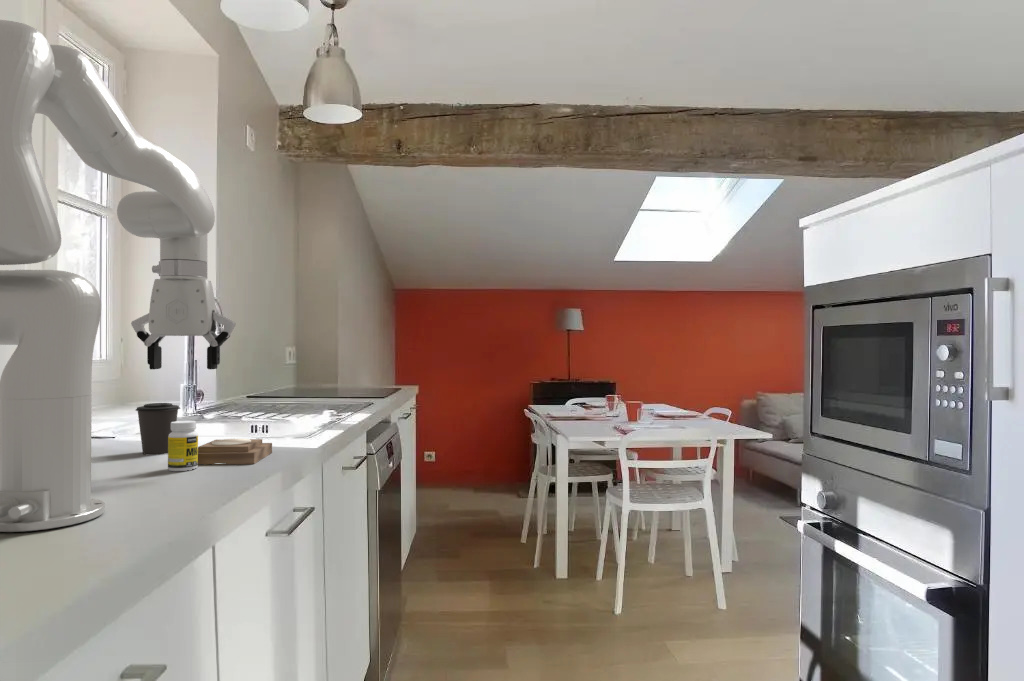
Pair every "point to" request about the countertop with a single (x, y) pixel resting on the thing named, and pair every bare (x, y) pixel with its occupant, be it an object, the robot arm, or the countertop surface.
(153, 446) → the coffee cup
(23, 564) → the countertop surface
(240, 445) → the plinth
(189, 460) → the supplement bottle
